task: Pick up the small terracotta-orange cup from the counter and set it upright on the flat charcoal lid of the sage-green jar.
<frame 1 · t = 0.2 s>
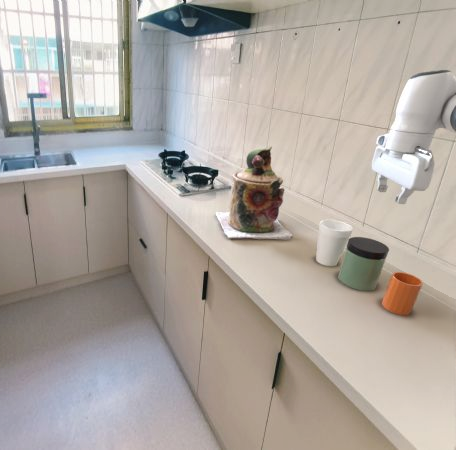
hand: (390, 197, 88), 27 cm above the worktop, tool pointing down, fingers open, 8 cm apart
cup: (395, 307, 89), on the worktop
foam cup: (326, 261, 111), on the worktop
jar: (356, 281, 101), on the worktop
cookie jar: (250, 227, 135), on the worktop
jar lid: (367, 246, 96), point 12 cm above the worktop, screwed on, not yet turned
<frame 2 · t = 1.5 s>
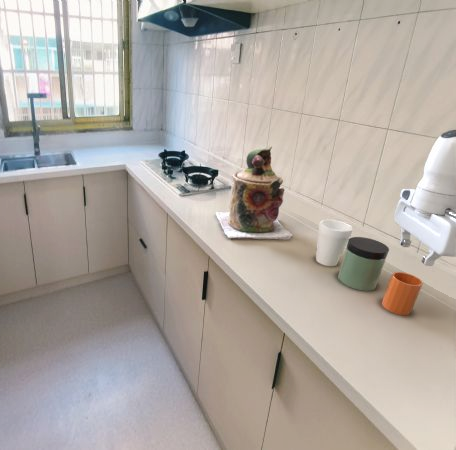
hand: (414, 254, 83), 16 cm above the worktop, tool pointing down, fingers open, 8 cm apart
nothing on the worktop moved.
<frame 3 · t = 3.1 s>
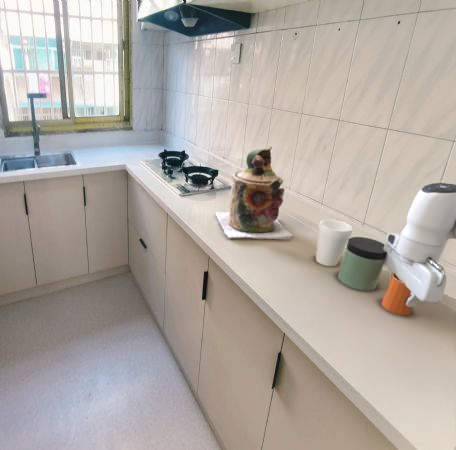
hand: (400, 295, 88), 4 cm above the worktop, tool pointing down, fingers closed on cup, 6 cm apart
cup: (395, 307, 89), on the worktop, touching gripper
everything else where it was.
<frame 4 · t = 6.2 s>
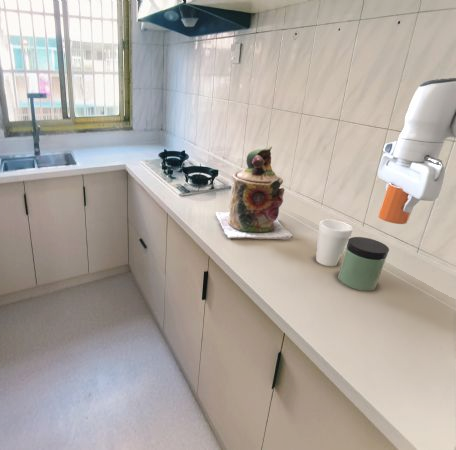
hand: (396, 205, 86), 26 cm above the worktop, tool pointing down, fingers closed on cup, 6 cm apart
cup: (392, 219, 88), point 22 cm above the worktop, touching gripper
everything else where it was.
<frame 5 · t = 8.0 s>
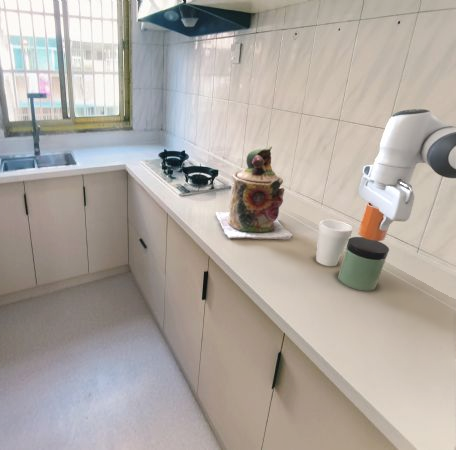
hand: (374, 223, 93), 19 cm above the worktop, tool pointing down, fingers closed on cup, 6 cm apart
cup: (371, 235, 95), point 15 cm above the worktop, touching gripper
everything else where it was.
when the fingers open (16 cm above the worktop, at t = 9.3 s): cup stays where it is, resting on jar lid.
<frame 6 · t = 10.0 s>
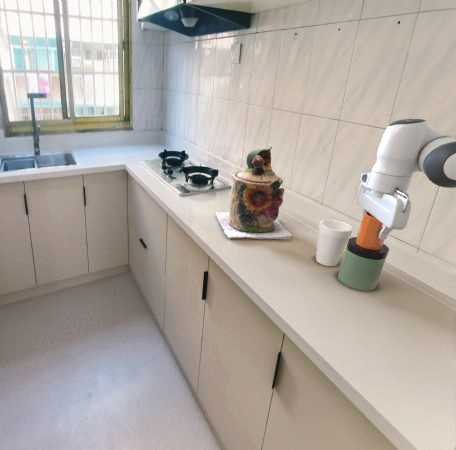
hand: (372, 231, 94), 16 cm above the worktop, tool pointing down, fingers open, 8 cm apart
cup: (368, 244, 96), point 12 cm above the worktop, touching jar lid
jar lid: (367, 246, 96), point 12 cm above the worktop, screwed on, not yet turned, touching cup
everything else where it was.
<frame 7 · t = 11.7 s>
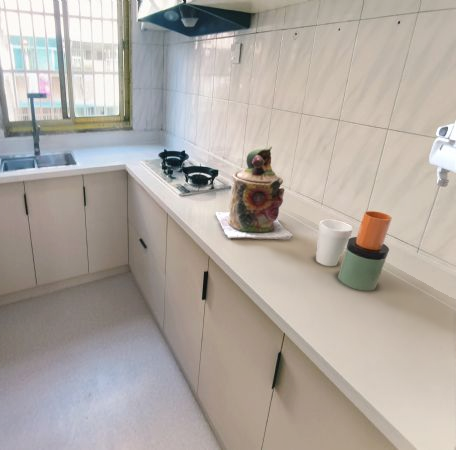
hand: (453, 191, 83), 30 cm above the worktop, tool pointing down, fingers open, 8 cm apart
nothing on the worktop moved.
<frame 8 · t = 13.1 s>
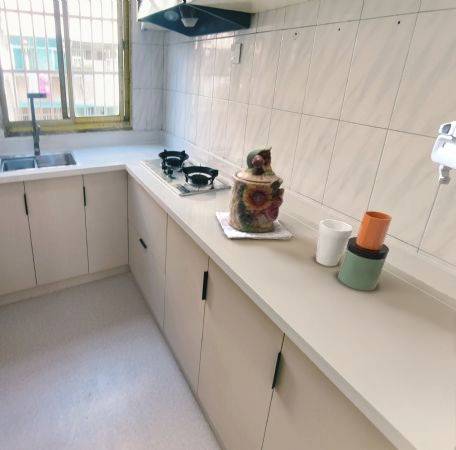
hand: (455, 189, 82), 31 cm above the worktop, tool pointing down, fingers open, 8 cm apart
nothing on the worktop moved.
at the end: cup 0.0 cm off-centre on the jar, point 12.2 cm above the jar's base; cup tilted 0°; the gripper is holding nothing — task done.
